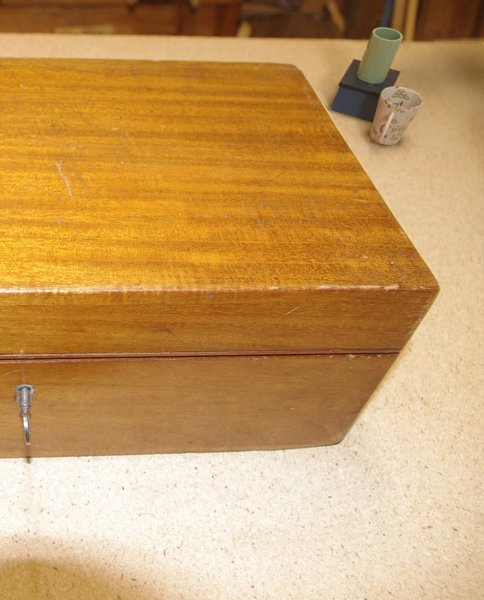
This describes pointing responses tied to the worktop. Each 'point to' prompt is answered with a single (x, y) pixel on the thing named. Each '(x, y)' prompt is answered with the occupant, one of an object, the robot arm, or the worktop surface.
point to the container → (360, 93)
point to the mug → (394, 114)
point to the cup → (379, 55)
